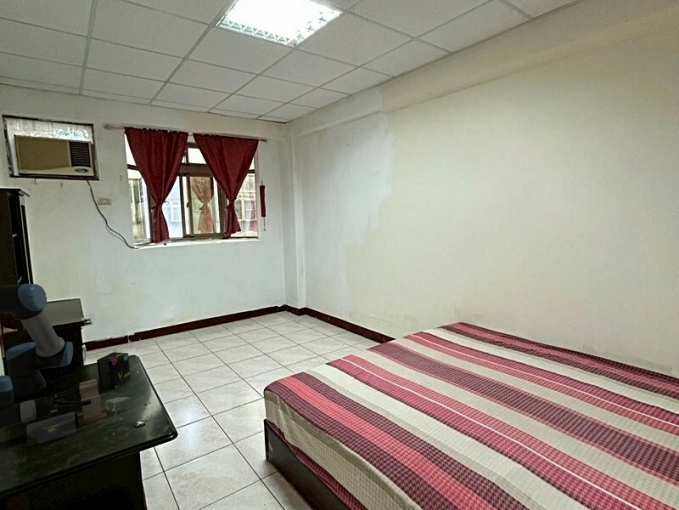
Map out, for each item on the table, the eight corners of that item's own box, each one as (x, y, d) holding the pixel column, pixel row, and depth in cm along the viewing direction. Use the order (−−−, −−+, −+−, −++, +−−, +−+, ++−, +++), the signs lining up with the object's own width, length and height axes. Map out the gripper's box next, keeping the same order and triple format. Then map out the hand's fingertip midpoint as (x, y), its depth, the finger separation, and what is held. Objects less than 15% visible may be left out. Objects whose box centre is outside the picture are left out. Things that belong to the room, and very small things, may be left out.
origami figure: (104, 418, 160) (103, 407, 159) (105, 409, 167) (104, 399, 166) (136, 410, 165) (135, 400, 165) (136, 402, 173) (135, 392, 172)
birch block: (83, 414, 162) (79, 383, 160) (99, 409, 165) (96, 378, 164) (84, 420, 157) (80, 388, 155) (100, 415, 161) (97, 383, 159)
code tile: (27, 425, 156) (27, 424, 156) (74, 411, 166) (74, 411, 166) (24, 448, 140) (24, 448, 140) (76, 432, 150) (76, 432, 150)
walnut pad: (77, 415, 162) (77, 413, 162) (104, 408, 168) (104, 405, 168) (78, 426, 154) (78, 423, 154) (107, 417, 160) (107, 415, 160)
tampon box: (115, 389, 186) (112, 360, 184) (99, 388, 188) (96, 359, 186) (131, 379, 197) (128, 352, 195) (116, 378, 199) (113, 351, 197)
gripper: (38, 405, 160) (97, 389, 172) (35, 432, 140) (102, 412, 153) (35, 388, 159) (95, 374, 172) (33, 413, 139) (100, 394, 152)
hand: (98, 392), depth 162 cm, fingers open, 13 cm apart
